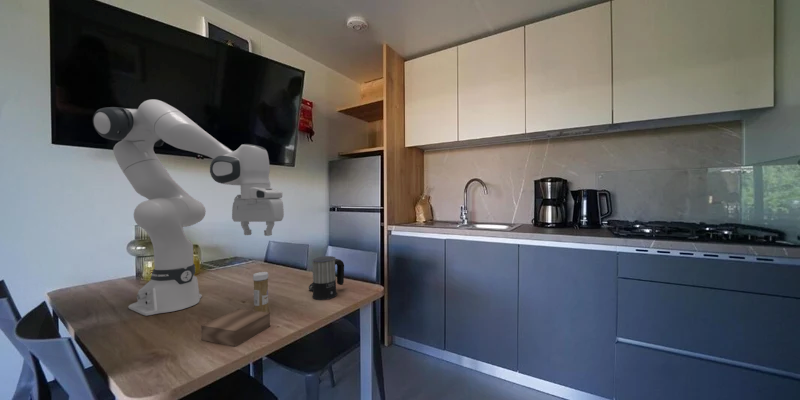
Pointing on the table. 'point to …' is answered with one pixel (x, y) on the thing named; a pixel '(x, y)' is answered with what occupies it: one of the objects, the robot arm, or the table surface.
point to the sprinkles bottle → (261, 291)
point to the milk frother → (326, 277)
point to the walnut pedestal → (235, 327)
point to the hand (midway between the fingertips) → (257, 235)
